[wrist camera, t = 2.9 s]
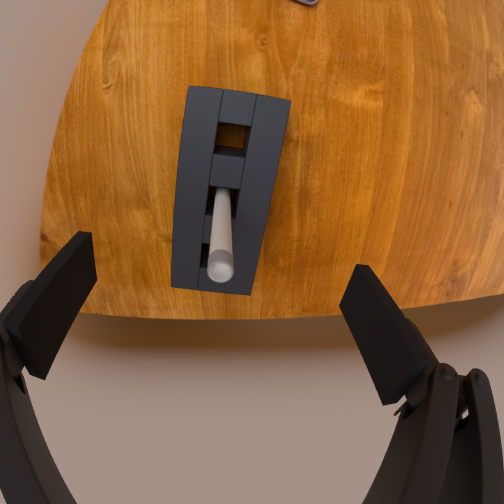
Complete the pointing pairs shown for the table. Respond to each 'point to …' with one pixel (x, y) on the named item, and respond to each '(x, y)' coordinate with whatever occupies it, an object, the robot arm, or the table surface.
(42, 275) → the robot arm
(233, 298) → the table surface
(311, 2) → the smartphone
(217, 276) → the stylus
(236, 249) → the pen stand
